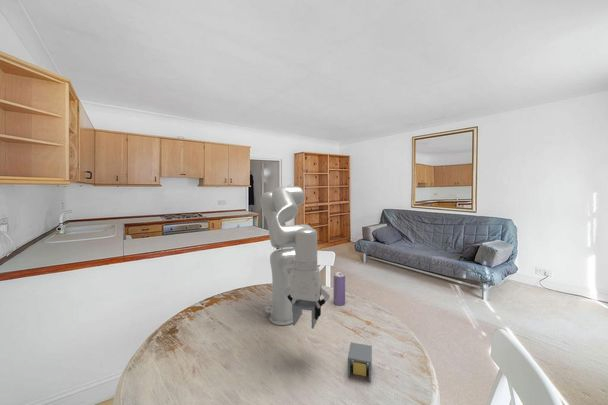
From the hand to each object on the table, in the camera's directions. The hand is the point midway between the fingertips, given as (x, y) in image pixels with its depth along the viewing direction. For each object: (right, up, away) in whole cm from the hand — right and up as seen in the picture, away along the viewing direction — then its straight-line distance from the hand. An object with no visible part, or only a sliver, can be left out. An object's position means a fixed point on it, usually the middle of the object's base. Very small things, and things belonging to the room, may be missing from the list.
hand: (306, 315), depth 85 cm
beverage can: (+17, -13, +43) cm, 48 cm away
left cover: (0, -2, 0) cm, 2 cm away
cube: (+17, -16, -4) cm, 24 cm away
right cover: (+17, -16, -4) cm, 24 cm away
